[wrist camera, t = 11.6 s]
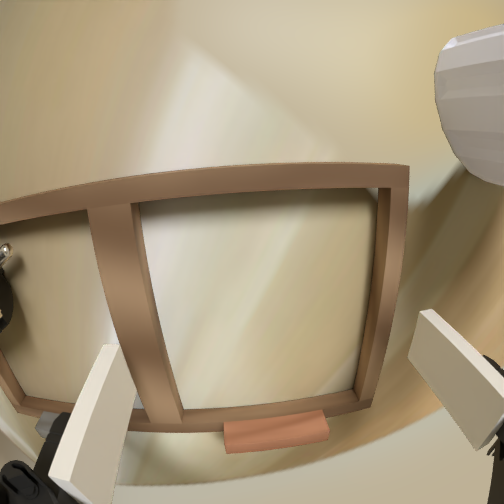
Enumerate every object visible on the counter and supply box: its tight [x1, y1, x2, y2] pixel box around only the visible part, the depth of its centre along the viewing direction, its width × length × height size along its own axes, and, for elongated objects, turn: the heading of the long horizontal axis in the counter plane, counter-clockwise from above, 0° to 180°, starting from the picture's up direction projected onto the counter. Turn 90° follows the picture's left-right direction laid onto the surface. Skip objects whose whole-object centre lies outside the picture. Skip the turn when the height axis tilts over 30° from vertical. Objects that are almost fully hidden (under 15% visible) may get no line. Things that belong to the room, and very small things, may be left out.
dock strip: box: [0, 162, 409, 454], centre depth 13 cm, size 15×26×3 cm, turn 93°
